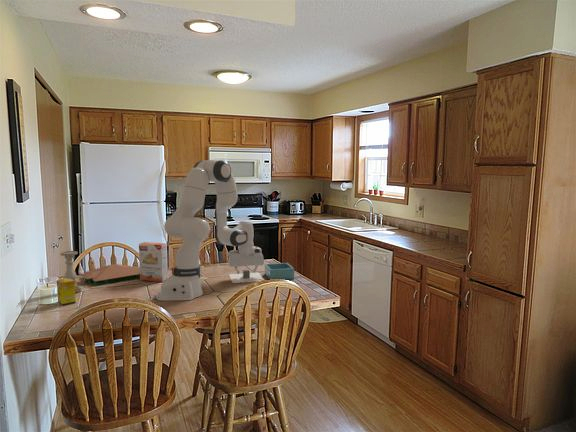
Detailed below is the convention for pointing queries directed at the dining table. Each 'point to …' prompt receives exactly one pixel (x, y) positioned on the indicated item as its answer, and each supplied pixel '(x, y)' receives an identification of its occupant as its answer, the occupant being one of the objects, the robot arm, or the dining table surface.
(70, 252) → the candle holder
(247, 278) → the lid
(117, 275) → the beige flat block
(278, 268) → the teal open box
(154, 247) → the cracker box
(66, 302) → the supplement box
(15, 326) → the dining table surface
